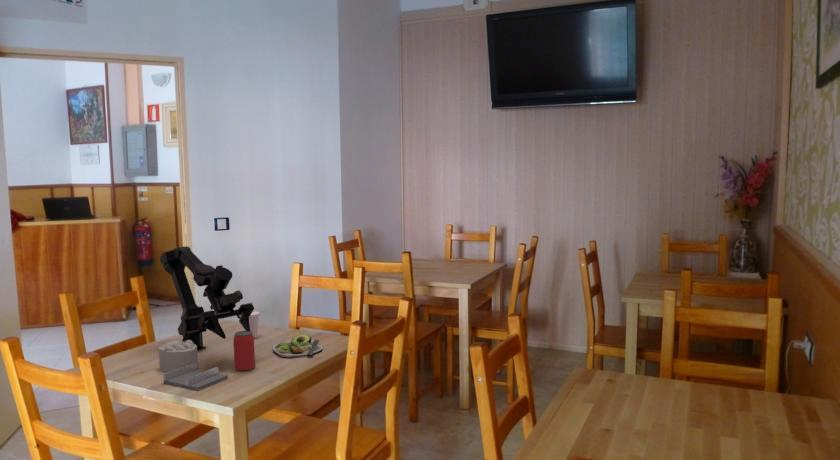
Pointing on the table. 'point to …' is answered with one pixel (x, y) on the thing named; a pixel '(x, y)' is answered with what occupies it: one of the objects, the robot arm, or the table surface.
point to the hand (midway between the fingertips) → (237, 335)
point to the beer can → (244, 351)
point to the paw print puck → (177, 355)
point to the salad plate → (298, 347)
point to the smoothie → (254, 322)
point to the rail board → (193, 377)
